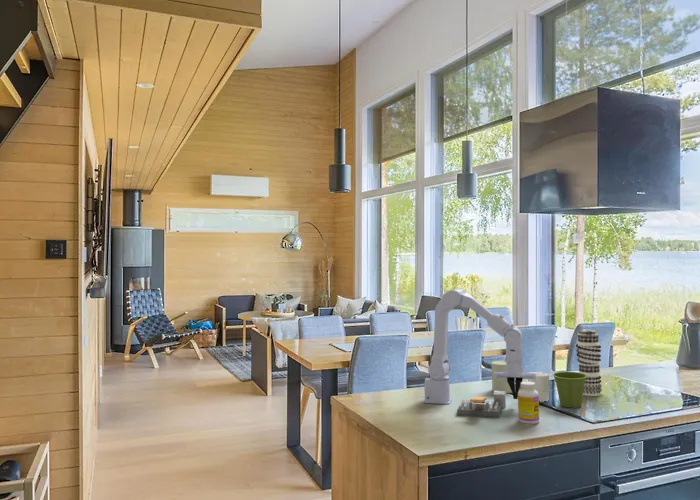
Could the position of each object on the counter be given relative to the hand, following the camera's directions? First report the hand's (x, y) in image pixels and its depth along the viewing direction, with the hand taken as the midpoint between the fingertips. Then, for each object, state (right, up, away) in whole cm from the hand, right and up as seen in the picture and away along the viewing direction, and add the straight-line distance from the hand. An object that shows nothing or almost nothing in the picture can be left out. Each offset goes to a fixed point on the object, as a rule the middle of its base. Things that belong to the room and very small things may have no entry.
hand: (515, 398), depth 206 cm
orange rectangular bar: (-15, 0, -5) cm, 16 cm away
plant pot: (+20, -3, +1) cm, 21 cm away
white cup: (+12, -4, +10) cm, 16 cm away
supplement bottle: (-1, -3, -18) cm, 18 cm away
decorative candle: (+35, -3, +18) cm, 39 cm away
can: (+3, -4, +27) cm, 27 cm away
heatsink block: (-14, -4, -6) cm, 16 cm away
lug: (-5, -3, +2) cm, 6 cm away
